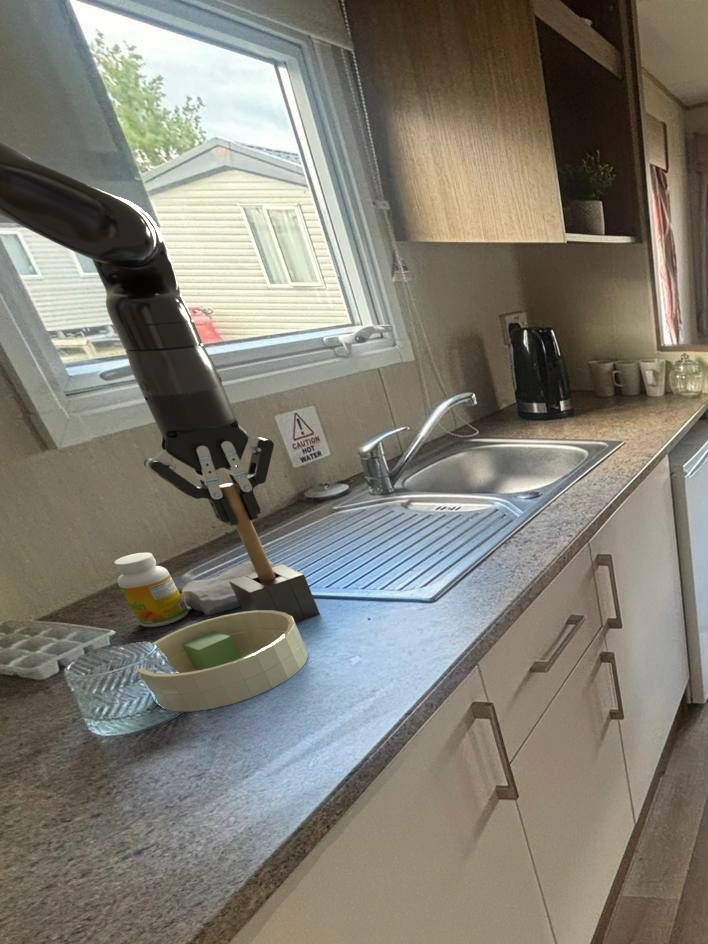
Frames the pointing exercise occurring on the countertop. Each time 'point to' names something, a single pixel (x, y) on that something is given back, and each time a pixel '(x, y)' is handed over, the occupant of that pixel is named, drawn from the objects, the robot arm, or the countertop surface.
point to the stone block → (216, 590)
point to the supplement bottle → (149, 590)
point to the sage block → (211, 650)
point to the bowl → (258, 670)
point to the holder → (277, 593)
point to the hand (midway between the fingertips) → (241, 520)
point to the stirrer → (248, 533)
